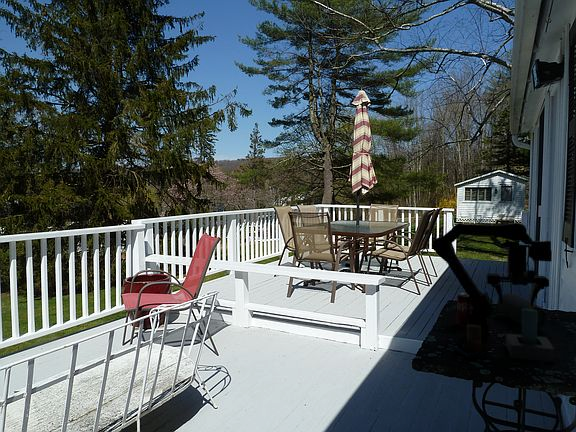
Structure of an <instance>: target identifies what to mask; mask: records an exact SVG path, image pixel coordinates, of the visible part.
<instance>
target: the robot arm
mask: <svg viewBox="0 0 576 432" xmlns="http://www.w3.org/2000/svg"><path fill="white" fill-rule="evenodd" d="M527 232H528V231H527V227H526V226H525V225H524V224H523V223H520V222H512V223H505V224H504V223H503V224H496V225H495V224H494V225H493V224H471V223H456V224H455V225H454V226H453V228H451V229H450V230H449V231H448V232H446V233H445V234H444V235H442V236H438V237H436V238H435V239H434V240H433V241H432V245H431V247H432V249H433V251H434V252H435V253H436V254H437V255H438V256H439V257H440V258H441V259H442V260H444V262H445V263H446V264H447V265H448V267H449V268H450V269H451V271H452V273H453V275H454V276H455V277H456V279H457V281H458V282H459V284H460V285H461V287H462V288H463V290H464V291H465V293H467V294H468V296H469V299H470V302H471V305H472V308H473V309H472V310H471V311H470V313H469V315H468V325H470V324H473V325H479V326H481V341H482V340H483V341H488V340H489V337H490V324H489V323H488V318H489V317H491V315H492V314H493V311H494V300H493V299H491V297H490V296H489V293H488V292H487V291H486V292H484V293H483V292H482V291H481V290H480V289H479V288H478V287H477V285H476V283H475V282H474V281H473V278H472V277H471V275H470V274H469V273H468V272H467V270H466V268H465V267H464V265H463V264H462V262H461V261H460V259H459V258H458V256H457V253H456V249H455V247H454V245H453V243H454V241H456V240H457V239H458V238H459V237H461V236H463V235H465V236H485V237H498V238H501V239H502V238H503V239H505V241H504V242H502V243H501V247H507V266H506V267H507V273H506V274H507V276H500V274H499V273H487V274H486V276H485V278H486V279H485V281H486V283H487V285H490V287H494V288H495V291H496V294H497V296H498V299H499V300H500V303H501V304H502V295H503V294H502V286H501V283H511V285H513V286H519V285H520V286H528V284H531V288H530V300H529V301H530V306H532V305H533V304H535V300H536V297H537V296H538V294H539V293H540V291H541V290H545V288H550V279H549V278H547V277H546V276H545V275H536V274H535V270H533V269H532V270H531V269H527V248H528V258H530V259H532V261H533V262H550V263H551V262H552V256H553V254H552V253H553V252H552V240H533V239H532V237H531V236H529V234H528V233H527ZM520 242H521V243H523V244H520Z"/></svg>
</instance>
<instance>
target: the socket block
mask: <svg viewBox="0 0 576 432" xmlns="http://www.w3.org/2000/svg"><path fill="white" fill-rule="evenodd" d="M505 347H506V349H507V351H508V353H509V357H510V359H521V360H528V361H529V360H532V361H541V362H549V363H555V356H556V355H555V352H556V350H555V348H554V345H552V343H551V341H550V340H549V339H548V337H547V336H538V335H537V345H534V344H523V343H521V334H514V333H505Z"/></svg>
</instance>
